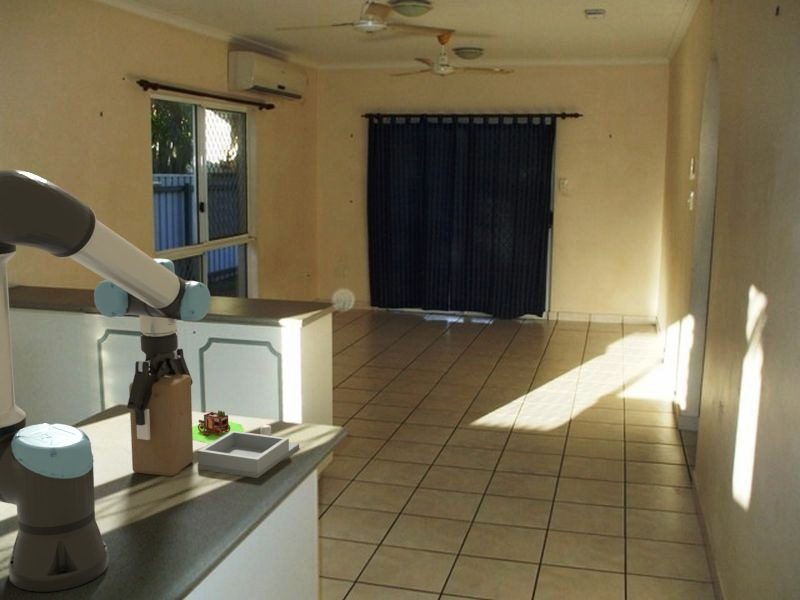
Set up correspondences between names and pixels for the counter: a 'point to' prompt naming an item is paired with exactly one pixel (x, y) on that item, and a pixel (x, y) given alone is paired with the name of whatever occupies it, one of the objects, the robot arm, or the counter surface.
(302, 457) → the counter surface
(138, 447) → the wooden block
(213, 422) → the wagon
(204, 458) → the open square tray
